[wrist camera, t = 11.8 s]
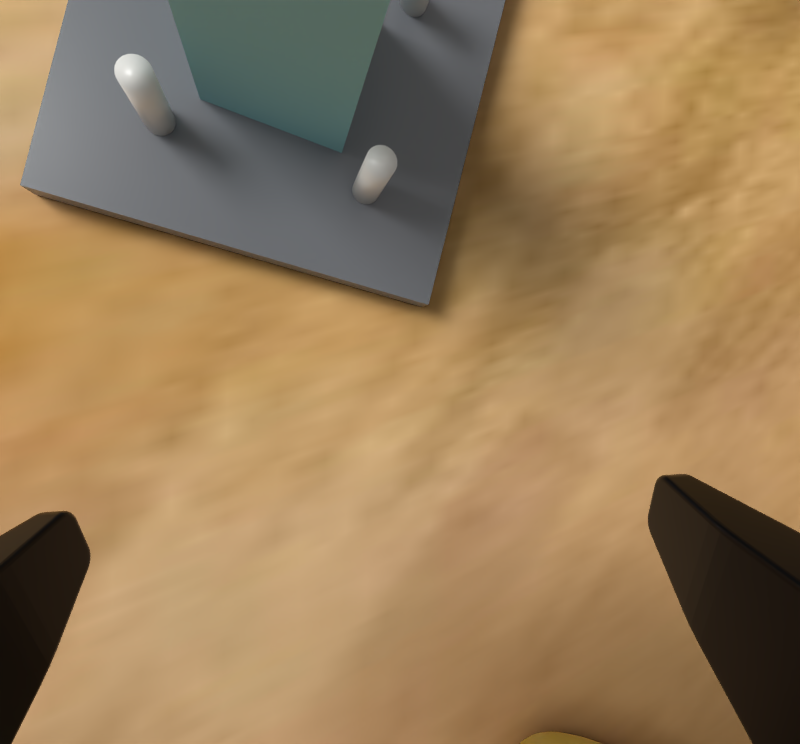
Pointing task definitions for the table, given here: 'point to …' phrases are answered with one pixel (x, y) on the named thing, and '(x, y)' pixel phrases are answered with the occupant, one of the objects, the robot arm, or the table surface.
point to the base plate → (268, 145)
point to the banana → (557, 739)
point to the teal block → (283, 59)
